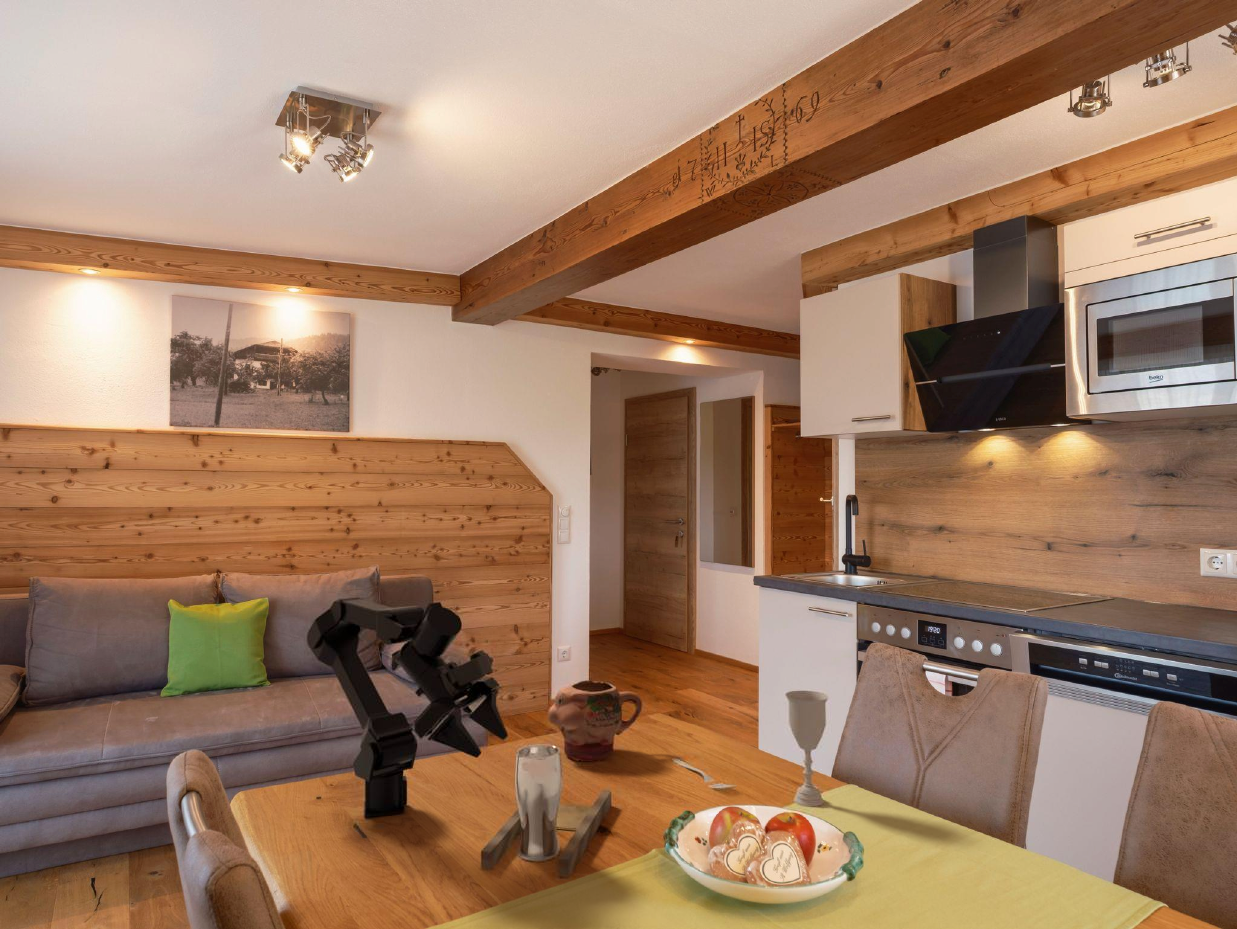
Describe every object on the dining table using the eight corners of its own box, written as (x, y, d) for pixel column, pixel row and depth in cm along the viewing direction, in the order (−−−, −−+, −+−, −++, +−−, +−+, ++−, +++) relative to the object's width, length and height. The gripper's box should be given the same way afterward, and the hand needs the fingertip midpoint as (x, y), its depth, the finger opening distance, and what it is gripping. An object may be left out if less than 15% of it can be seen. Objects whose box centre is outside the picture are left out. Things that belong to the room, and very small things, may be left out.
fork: (672, 754, 164) (672, 746, 164) (738, 795, 142) (738, 784, 142) (658, 757, 162) (658, 748, 162) (723, 798, 140) (723, 787, 140)
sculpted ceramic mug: (628, 738, 173) (627, 674, 174) (653, 755, 162) (652, 686, 163) (540, 751, 165) (540, 683, 166) (559, 770, 154) (559, 697, 155)
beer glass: (566, 843, 122) (565, 744, 123) (558, 864, 115) (557, 759, 116) (521, 841, 123) (520, 743, 123) (510, 862, 116) (510, 758, 116)
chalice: (782, 804, 136) (780, 697, 137) (793, 790, 142) (791, 688, 143) (825, 811, 133) (823, 702, 134) (834, 797, 139) (832, 693, 140)
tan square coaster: (584, 831, 126) (584, 828, 126) (527, 826, 128) (527, 823, 128) (598, 809, 135) (598, 806, 135) (544, 804, 137) (544, 802, 137)
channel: (568, 877, 111) (568, 859, 111) (481, 868, 114) (481, 851, 114) (611, 805, 136) (611, 790, 137) (538, 799, 139) (538, 785, 139)
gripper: (430, 648, 118) (498, 728, 114) (488, 628, 136) (549, 697, 132) (384, 699, 120) (450, 779, 117) (447, 673, 138) (506, 742, 134)
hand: (493, 746), depth 125 cm, fingers open, 9 cm apart
